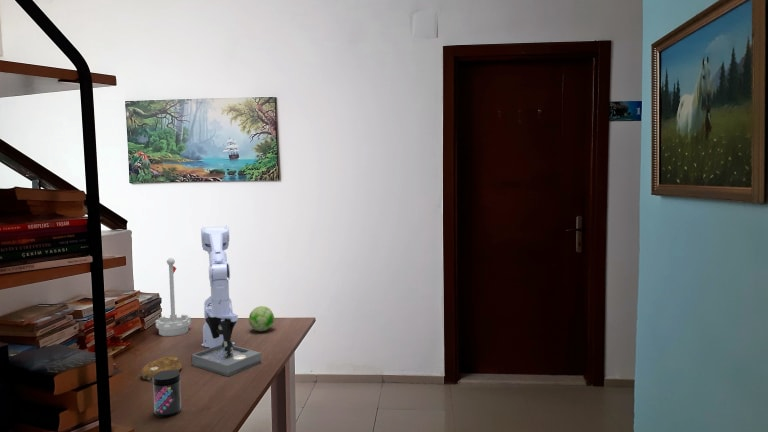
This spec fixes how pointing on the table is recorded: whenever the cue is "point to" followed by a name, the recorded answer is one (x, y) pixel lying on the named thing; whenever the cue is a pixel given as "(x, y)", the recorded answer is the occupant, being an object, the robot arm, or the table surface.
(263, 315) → the decorative ball
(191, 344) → the table surface
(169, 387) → the supplement container
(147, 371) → the decorative rock
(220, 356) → the weighing pan
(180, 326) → the flag stand
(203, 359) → the scale housing
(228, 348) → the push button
